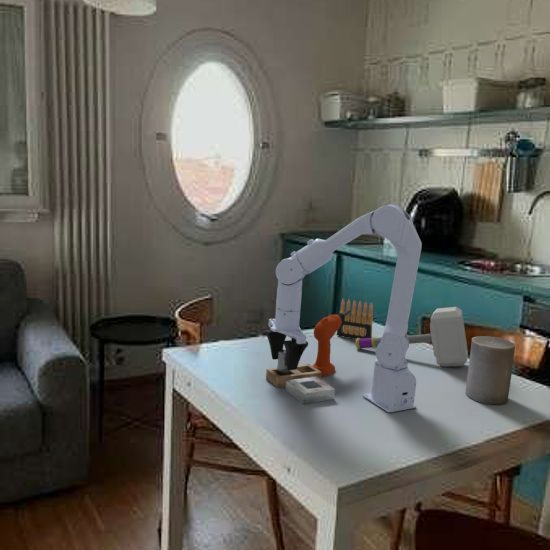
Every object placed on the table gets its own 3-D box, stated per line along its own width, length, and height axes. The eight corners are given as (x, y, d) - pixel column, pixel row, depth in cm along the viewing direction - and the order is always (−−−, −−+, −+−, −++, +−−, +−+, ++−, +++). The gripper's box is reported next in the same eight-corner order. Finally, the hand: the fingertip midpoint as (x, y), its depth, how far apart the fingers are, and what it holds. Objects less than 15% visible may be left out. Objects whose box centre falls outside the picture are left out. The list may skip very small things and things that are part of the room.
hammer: (349, 321, 160) (459, 311, 149) (355, 315, 168) (461, 305, 156) (357, 373, 162) (467, 366, 151) (363, 364, 169) (468, 358, 158)
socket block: (334, 399, 127) (334, 389, 126) (303, 404, 123) (304, 393, 123) (315, 386, 134) (315, 376, 133) (285, 390, 130) (286, 380, 130)
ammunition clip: (371, 340, 174) (375, 302, 172) (370, 341, 173) (374, 303, 170) (337, 334, 178) (341, 297, 176) (336, 335, 176) (339, 298, 174)
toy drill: (355, 353, 155) (358, 302, 151) (324, 381, 140) (326, 325, 135) (339, 350, 157) (341, 299, 153) (307, 376, 142) (308, 321, 138)
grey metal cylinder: (291, 383, 135) (293, 353, 133) (279, 384, 133) (281, 354, 132) (285, 378, 137) (287, 349, 136) (274, 379, 136) (276, 350, 135)
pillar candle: (511, 396, 136) (519, 336, 133) (503, 409, 128) (512, 345, 125) (470, 386, 141) (477, 328, 138) (460, 398, 133) (467, 336, 130)
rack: (308, 373, 142) (309, 363, 142) (321, 381, 137) (322, 372, 137) (265, 378, 136) (266, 369, 136) (277, 387, 131) (278, 377, 131)
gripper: (259, 302, 136) (255, 355, 139) (288, 317, 124) (284, 376, 126) (284, 300, 140) (280, 353, 142) (315, 315, 127) (311, 373, 130)
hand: (284, 364), depth 134 cm, fingers open, 7 cm apart
